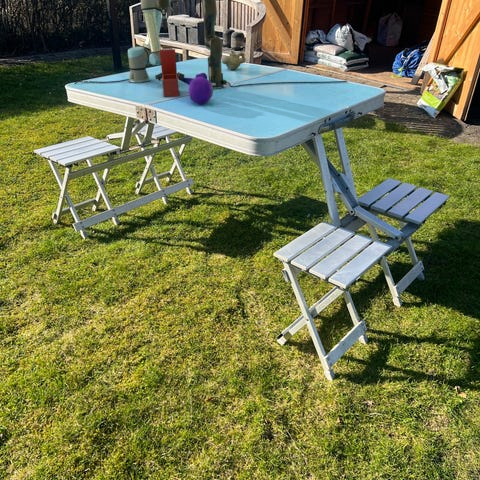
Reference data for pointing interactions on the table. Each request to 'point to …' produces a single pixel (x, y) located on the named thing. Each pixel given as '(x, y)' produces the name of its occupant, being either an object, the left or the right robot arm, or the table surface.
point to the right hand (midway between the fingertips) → (165, 28)
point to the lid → (168, 60)
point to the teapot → (233, 60)
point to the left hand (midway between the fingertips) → (169, 78)
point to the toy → (199, 88)
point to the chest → (170, 85)
